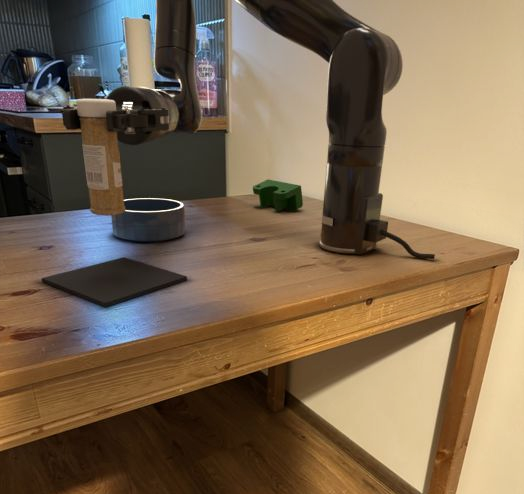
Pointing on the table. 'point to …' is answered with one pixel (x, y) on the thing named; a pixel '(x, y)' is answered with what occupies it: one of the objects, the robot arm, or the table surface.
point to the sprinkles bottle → (101, 157)
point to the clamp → (279, 195)
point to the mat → (114, 281)
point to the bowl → (150, 220)
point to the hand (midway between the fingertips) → (88, 120)
